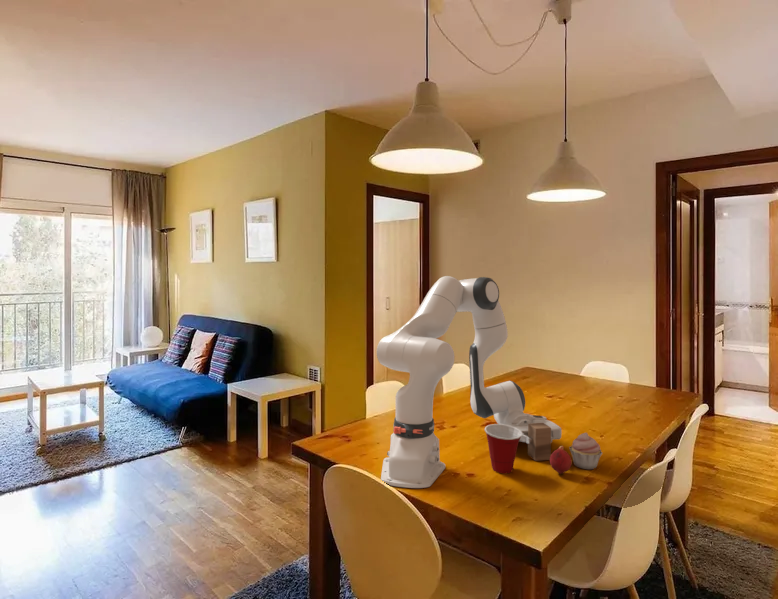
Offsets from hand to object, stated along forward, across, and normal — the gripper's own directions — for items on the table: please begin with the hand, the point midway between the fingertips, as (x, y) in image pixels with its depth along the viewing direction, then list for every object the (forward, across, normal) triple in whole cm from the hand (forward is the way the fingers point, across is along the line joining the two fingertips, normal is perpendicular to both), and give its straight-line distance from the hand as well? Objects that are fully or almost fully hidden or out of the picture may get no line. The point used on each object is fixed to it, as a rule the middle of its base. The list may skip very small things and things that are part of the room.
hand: (540, 440), depth 145 cm
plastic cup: (+6, -15, +6) cm, 17 cm away
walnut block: (-1, 0, +6) cm, 6 cm away
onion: (+11, 0, +6) cm, 13 cm away
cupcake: (+7, +11, +6) cm, 14 cm away
